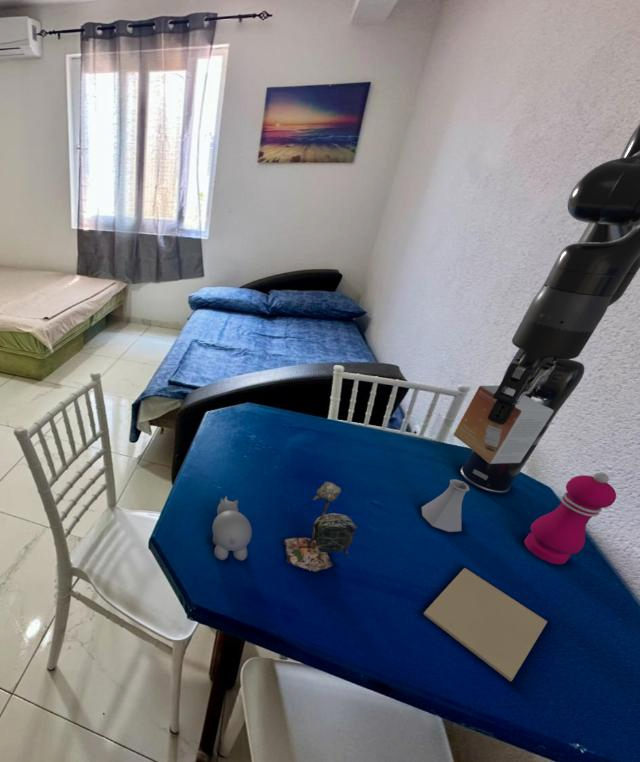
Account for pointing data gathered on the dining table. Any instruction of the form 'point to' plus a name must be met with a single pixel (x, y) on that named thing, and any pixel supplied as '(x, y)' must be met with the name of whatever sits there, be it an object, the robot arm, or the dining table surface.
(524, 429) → the small box
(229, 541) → the round bodied animal figurine
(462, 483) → the flask
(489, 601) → the mat
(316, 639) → the dining table surface
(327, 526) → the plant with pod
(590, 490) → the pepper mill
